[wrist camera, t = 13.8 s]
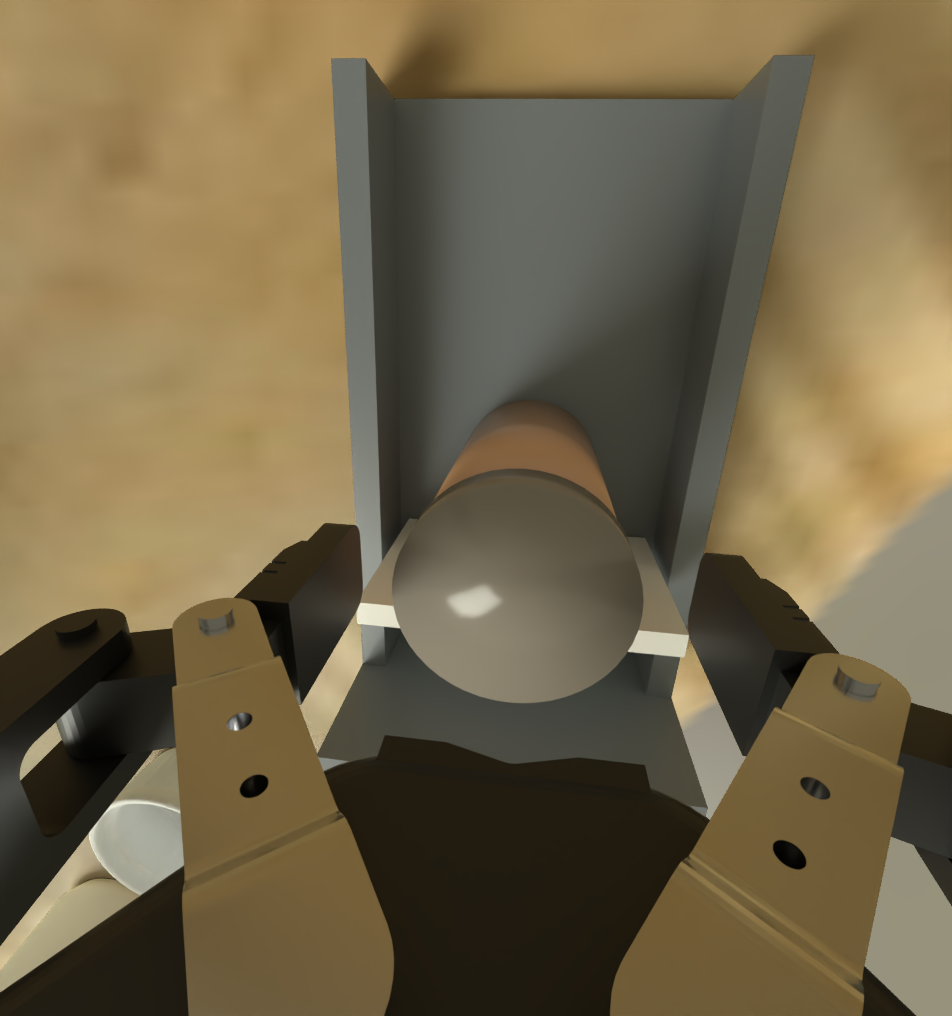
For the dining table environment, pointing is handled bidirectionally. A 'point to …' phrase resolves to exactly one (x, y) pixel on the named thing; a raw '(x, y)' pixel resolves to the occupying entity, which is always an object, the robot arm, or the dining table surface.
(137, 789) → the ramekin
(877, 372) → the dining table surface
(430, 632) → the jar
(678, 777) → the lane
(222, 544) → the dining table surface
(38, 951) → the alcohol
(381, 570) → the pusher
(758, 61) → the dining table surface
